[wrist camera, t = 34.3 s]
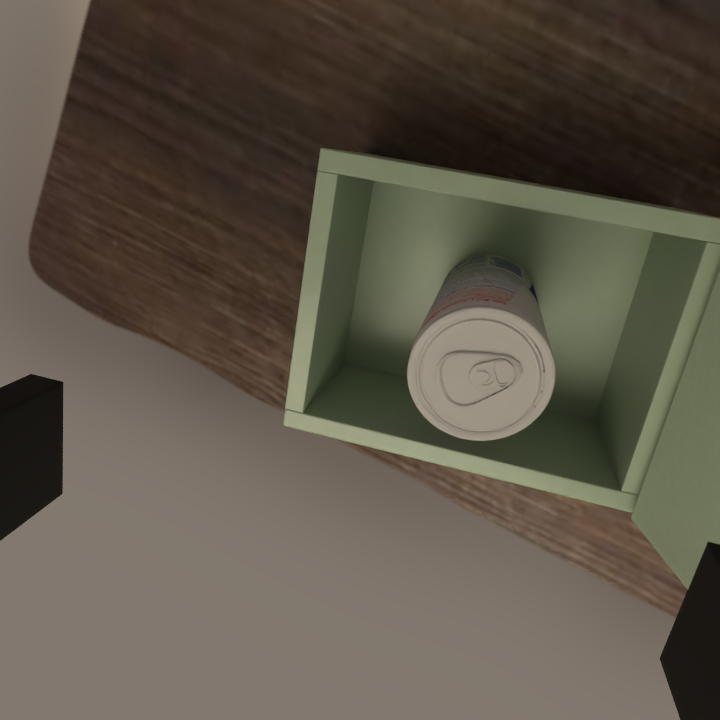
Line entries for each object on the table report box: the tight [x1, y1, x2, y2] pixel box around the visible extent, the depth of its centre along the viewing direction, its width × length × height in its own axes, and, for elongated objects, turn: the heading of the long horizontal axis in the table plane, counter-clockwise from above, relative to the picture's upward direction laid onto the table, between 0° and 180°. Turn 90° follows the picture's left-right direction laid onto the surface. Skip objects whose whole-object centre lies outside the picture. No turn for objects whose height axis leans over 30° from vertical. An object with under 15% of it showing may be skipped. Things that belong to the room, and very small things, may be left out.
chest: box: [283, 148, 720, 513], centre depth 34 cm, size 18×14×10 cm
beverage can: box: [407, 254, 556, 441], centre depth 30 cm, size 6×6×15 cm
